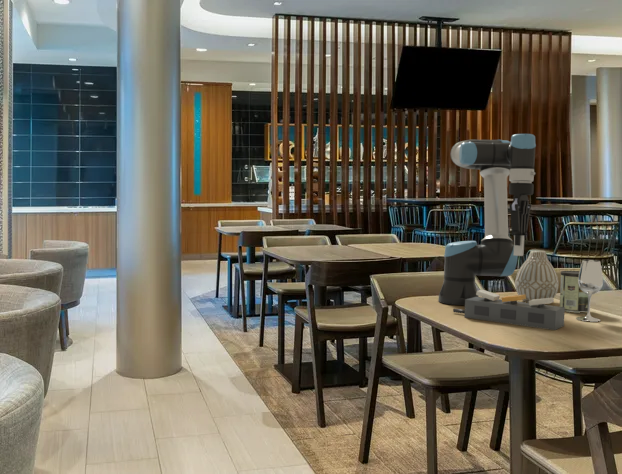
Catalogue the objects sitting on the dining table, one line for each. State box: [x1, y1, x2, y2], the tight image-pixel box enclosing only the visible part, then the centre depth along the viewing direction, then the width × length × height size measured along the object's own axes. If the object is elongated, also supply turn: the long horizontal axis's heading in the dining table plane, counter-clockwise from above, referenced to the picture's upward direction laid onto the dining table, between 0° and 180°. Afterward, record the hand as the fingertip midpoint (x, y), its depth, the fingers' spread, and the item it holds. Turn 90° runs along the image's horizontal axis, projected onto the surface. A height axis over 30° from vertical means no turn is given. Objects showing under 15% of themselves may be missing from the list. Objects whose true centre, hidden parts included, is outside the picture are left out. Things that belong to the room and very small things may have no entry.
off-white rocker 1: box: [476, 289, 501, 301], centre depth 226 cm, size 6×4×1 cm
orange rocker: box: [501, 294, 526, 302], centre depth 221 cm, size 6×4×1 cm
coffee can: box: [559, 270, 588, 314], centre depth 244 cm, size 10×10×14 cm
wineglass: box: [575, 259, 604, 323], centre depth 226 cm, size 8×8×20 cm
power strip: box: [452, 296, 566, 331], centre depth 223 cm, size 36×9×7 cm, turn 53°
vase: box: [514, 249, 559, 303], centre depth 261 cm, size 16×16×20 cm
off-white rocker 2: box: [529, 298, 555, 305], centre depth 215 cm, size 6×4×1 cm
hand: (518, 255), depth 219 cm, fingers closed
